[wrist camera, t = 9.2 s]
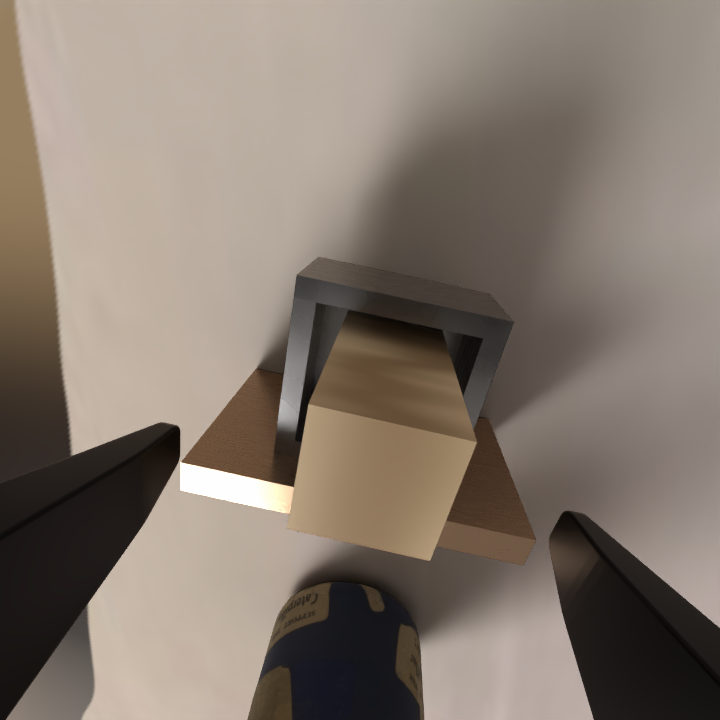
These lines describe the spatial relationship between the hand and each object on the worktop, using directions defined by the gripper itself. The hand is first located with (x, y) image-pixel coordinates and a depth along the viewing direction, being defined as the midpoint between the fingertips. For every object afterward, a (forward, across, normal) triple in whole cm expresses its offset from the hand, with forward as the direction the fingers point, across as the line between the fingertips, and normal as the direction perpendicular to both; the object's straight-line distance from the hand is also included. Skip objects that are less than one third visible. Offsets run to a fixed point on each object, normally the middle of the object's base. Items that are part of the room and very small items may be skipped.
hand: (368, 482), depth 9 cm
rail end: (+7, 0, 0) cm, 7 cm away
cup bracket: (+10, 0, +3) cm, 11 cm away
